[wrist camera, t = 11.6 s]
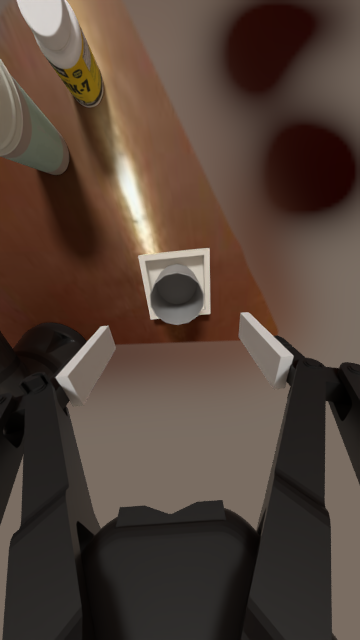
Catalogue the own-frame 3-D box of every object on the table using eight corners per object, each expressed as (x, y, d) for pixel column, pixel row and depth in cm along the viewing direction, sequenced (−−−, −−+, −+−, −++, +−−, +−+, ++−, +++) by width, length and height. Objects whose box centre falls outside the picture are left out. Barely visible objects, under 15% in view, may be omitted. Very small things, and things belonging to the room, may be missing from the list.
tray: (152, 314, 37) (150, 319, 35) (141, 254, 31) (138, 255, 29) (208, 309, 36) (210, 313, 34) (207, 247, 31) (209, 248, 29)
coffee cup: (29, 91, 22) (-115, -58, 11) (88, 146, 24) (16, 68, 14) (12, 155, 25) (-117, 87, 14) (65, 198, 27) (-8, 170, 16)
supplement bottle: (71, 106, 22) (18, 37, 15) (64, 52, 20) (-2, -60, 13) (106, 112, 23) (70, 47, 15) (102, 59, 21) (59, -46, 13)
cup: (195, 303, 35) (202, 325, 26) (158, 303, 35) (152, 325, 26) (197, 263, 31) (206, 272, 22) (156, 263, 31) (147, 272, 22)
